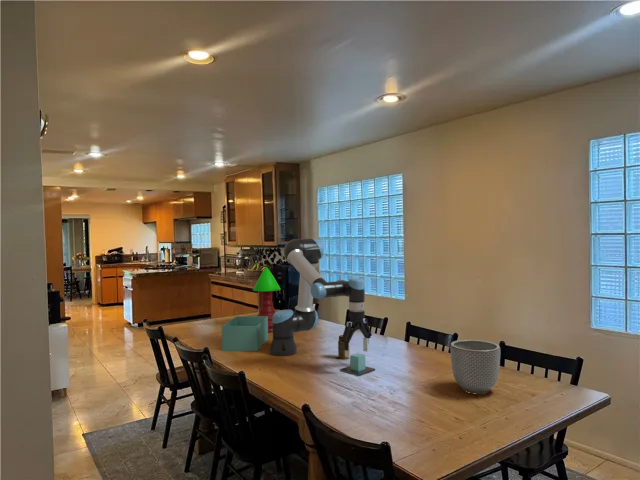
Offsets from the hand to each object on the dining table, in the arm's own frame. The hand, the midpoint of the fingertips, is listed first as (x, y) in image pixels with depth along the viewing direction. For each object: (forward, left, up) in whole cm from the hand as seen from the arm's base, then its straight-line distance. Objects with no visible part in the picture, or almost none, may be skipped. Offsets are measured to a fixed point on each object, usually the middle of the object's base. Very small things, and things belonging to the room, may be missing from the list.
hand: (356, 354), depth 215 cm
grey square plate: (0, 0, -8) cm, 8 cm away
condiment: (-20, +11, -8) cm, 24 cm away
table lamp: (-109, +31, -8) cm, 113 cm away
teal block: (0, 0, -7) cm, 7 cm away
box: (-85, -5, -9) cm, 85 cm away
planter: (+54, +12, -8) cm, 56 cm away
